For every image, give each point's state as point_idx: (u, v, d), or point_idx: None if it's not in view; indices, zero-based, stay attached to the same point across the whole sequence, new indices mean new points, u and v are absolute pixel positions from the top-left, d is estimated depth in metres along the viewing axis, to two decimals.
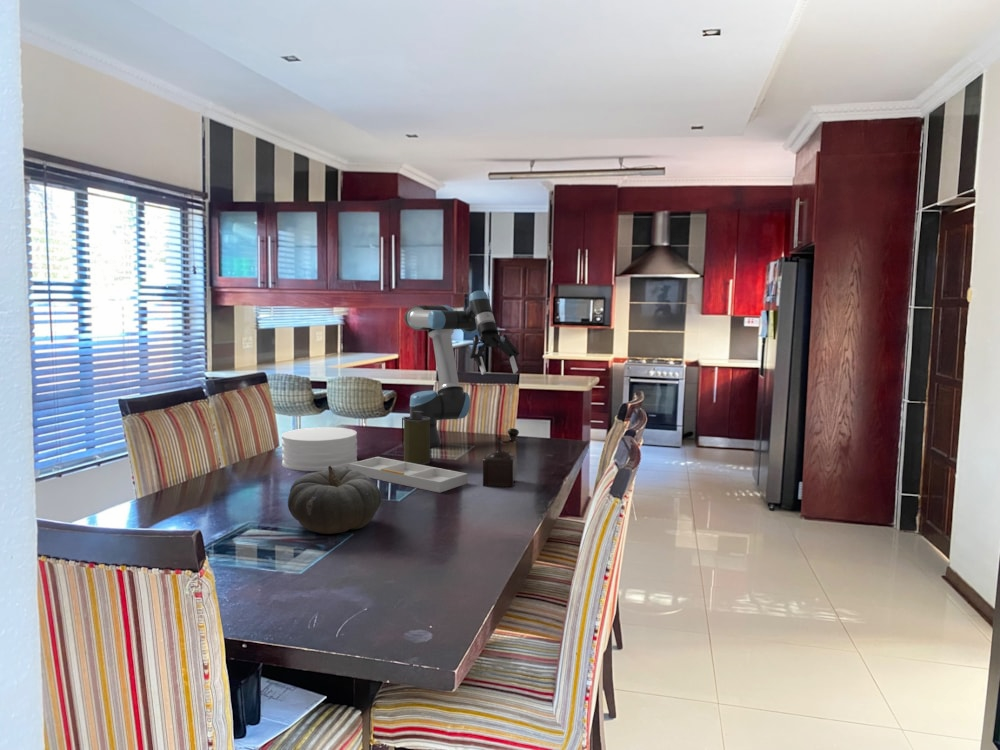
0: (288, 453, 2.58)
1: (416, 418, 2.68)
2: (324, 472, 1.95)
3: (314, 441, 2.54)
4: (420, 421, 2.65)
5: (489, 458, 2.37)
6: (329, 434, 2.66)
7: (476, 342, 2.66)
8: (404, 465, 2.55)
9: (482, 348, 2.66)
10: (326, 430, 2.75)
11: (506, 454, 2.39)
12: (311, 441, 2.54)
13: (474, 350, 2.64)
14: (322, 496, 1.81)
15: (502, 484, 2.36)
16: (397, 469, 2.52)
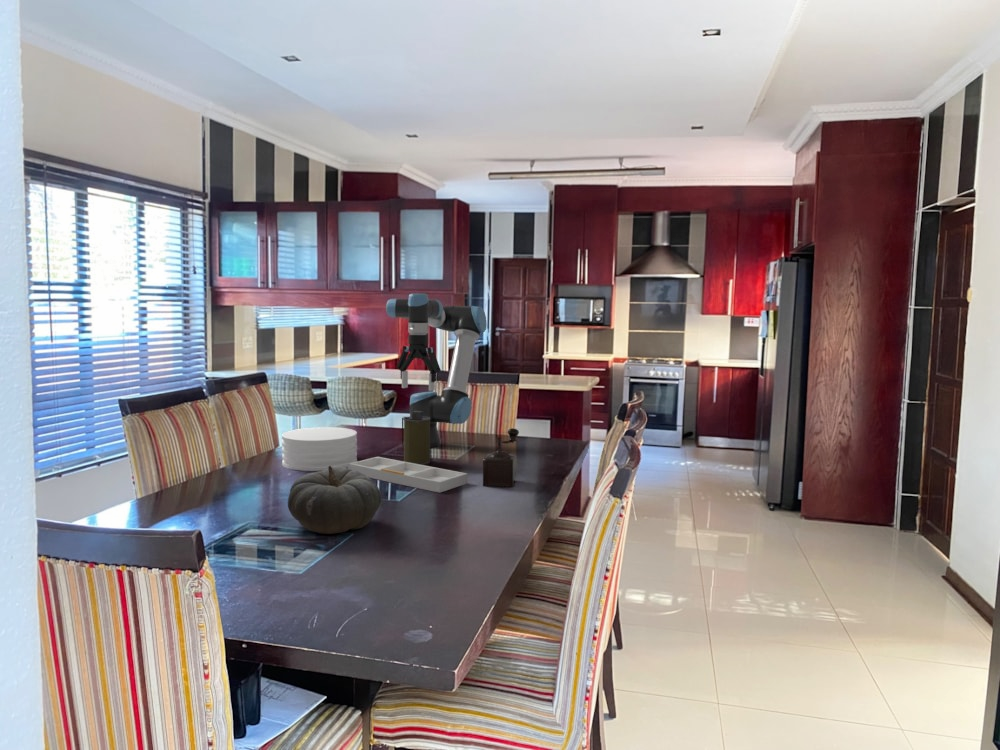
0: (288, 453, 2.58)
1: (416, 418, 2.68)
2: (324, 472, 1.95)
3: (314, 441, 2.54)
4: (420, 421, 2.65)
5: (489, 458, 2.37)
6: (329, 434, 2.66)
7: (402, 355, 2.70)
8: (404, 465, 2.55)
9: (405, 362, 2.69)
10: (326, 430, 2.75)
11: (506, 454, 2.39)
12: (311, 441, 2.54)
13: (398, 363, 2.71)
14: (322, 496, 1.81)
15: (502, 484, 2.36)
16: (397, 469, 2.52)
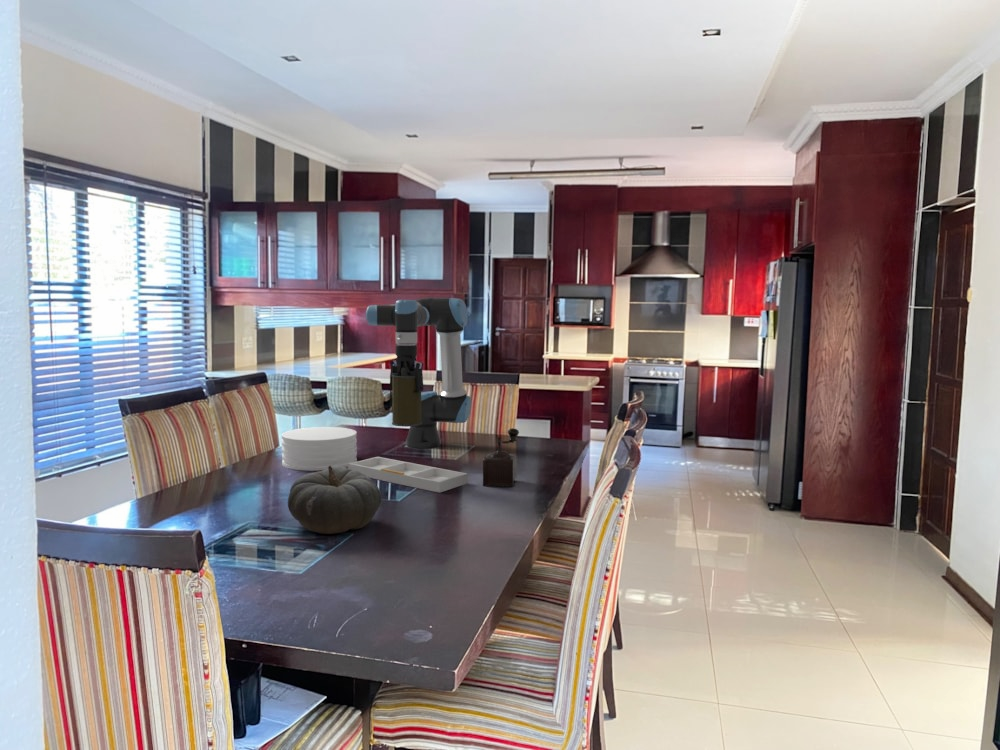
0: (288, 453, 2.58)
1: (406, 374, 2.41)
2: (324, 472, 1.95)
3: (314, 441, 2.55)
4: (410, 377, 2.38)
5: (489, 458, 2.37)
6: (329, 434, 2.67)
7: (391, 371, 2.45)
8: (404, 465, 2.55)
9: None
10: (326, 430, 2.75)
11: (506, 454, 2.39)
12: (311, 441, 2.55)
13: None
14: (322, 496, 1.81)
15: (502, 484, 2.36)
16: (397, 469, 2.52)
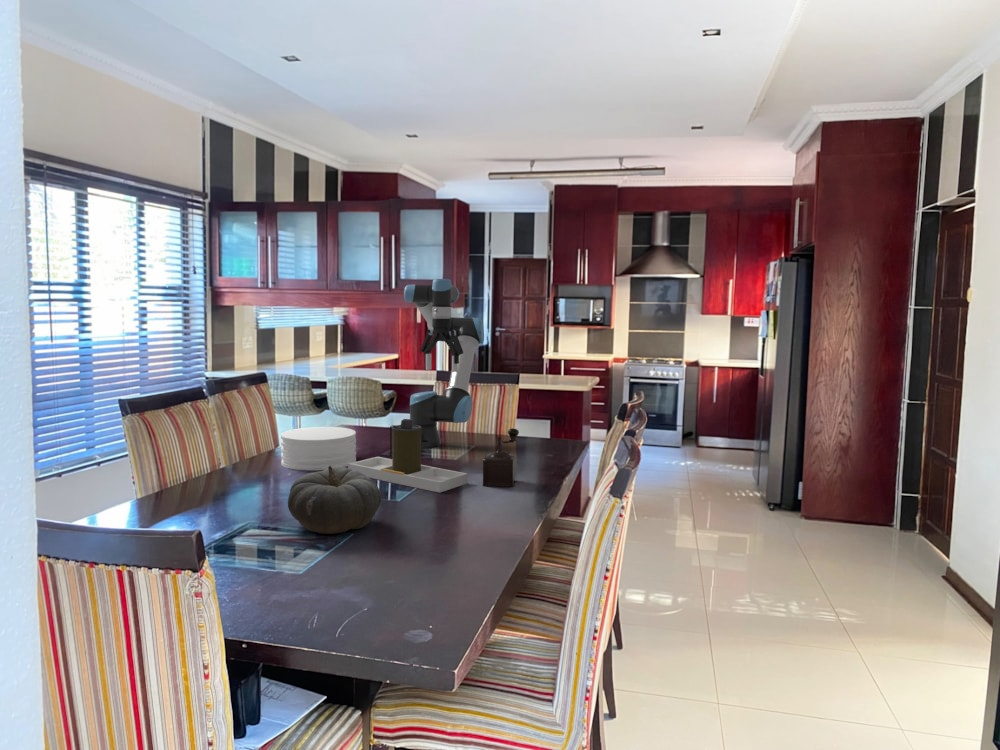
0: (287, 452, 2.59)
1: (406, 427, 2.43)
2: (324, 472, 1.95)
3: (313, 440, 2.55)
4: (410, 430, 2.40)
5: (489, 458, 2.37)
6: (328, 433, 2.67)
7: (426, 338, 2.82)
8: None
9: (429, 345, 2.81)
10: (325, 430, 2.75)
11: (506, 454, 2.39)
12: (310, 440, 2.55)
13: (423, 346, 2.83)
14: (322, 496, 1.81)
15: (502, 484, 2.36)
16: None
